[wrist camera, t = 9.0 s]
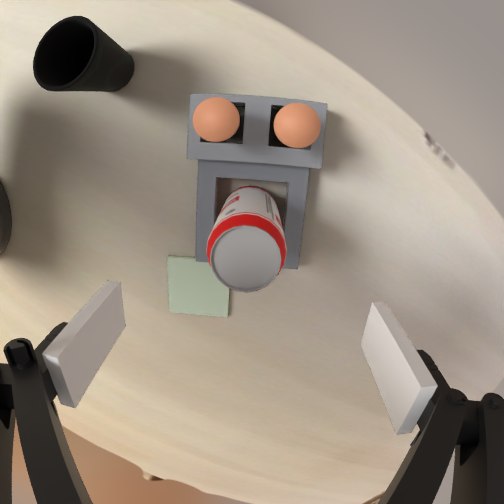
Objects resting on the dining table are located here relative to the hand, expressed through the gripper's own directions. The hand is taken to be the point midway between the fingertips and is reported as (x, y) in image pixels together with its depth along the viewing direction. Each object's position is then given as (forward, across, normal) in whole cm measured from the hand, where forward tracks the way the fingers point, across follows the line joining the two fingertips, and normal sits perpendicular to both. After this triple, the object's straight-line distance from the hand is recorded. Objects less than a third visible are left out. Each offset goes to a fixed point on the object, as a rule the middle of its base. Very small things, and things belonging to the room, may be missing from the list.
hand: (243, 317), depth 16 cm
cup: (+24, -18, +17) cm, 34 cm away
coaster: (+24, -6, -10) cm, 26 cm away
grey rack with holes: (+23, 0, +4) cm, 24 cm away
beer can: (+24, 0, 0) cm, 24 cm away
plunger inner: (+22, -4, +10) cm, 25 cm away
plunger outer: (+22, +3, +10) cm, 25 cm away
